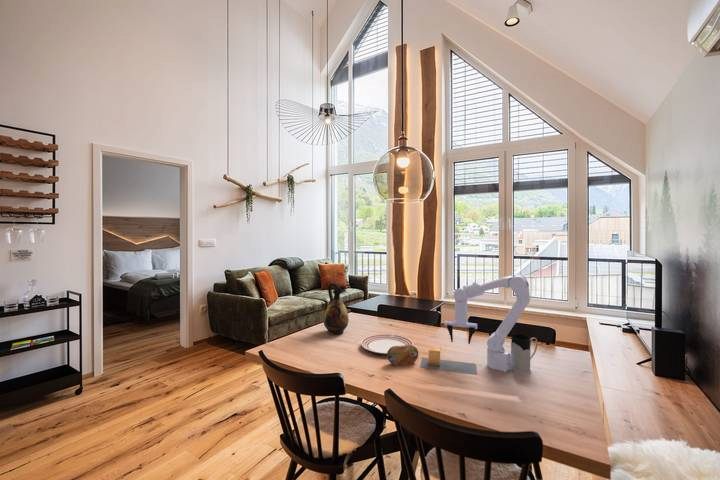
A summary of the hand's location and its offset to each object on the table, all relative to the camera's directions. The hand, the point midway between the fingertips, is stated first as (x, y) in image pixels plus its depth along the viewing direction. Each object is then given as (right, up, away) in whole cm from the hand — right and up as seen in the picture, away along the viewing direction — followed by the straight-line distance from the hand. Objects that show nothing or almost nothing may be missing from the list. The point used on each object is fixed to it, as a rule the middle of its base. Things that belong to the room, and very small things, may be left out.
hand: (460, 342), depth 152 cm
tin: (-28, -10, -2) cm, 29 cm away
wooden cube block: (-14, -8, -6) cm, 17 cm away
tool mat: (-8, -10, -8) cm, 14 cm away
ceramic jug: (-63, -8, +44) cm, 77 cm away
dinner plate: (-33, -9, +18) cm, 39 cm away
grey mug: (+27, -10, -7) cm, 29 cm away
